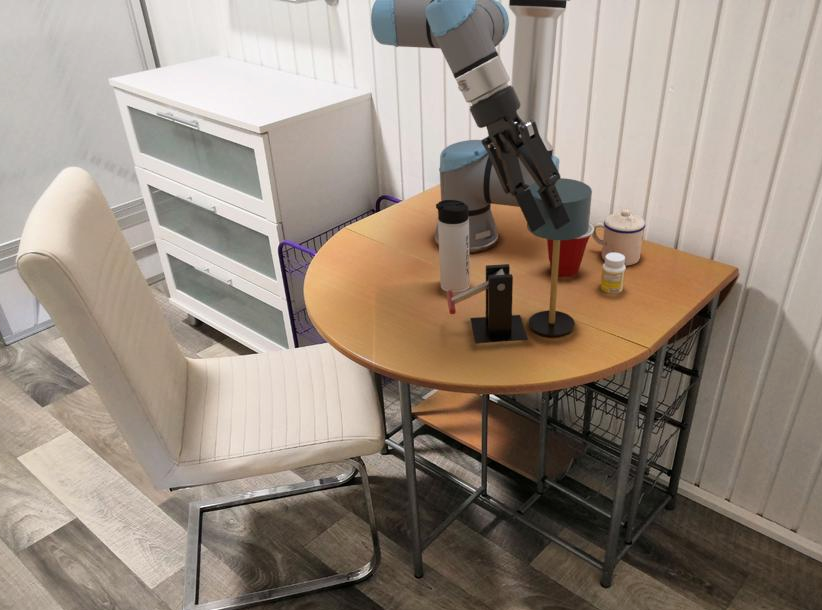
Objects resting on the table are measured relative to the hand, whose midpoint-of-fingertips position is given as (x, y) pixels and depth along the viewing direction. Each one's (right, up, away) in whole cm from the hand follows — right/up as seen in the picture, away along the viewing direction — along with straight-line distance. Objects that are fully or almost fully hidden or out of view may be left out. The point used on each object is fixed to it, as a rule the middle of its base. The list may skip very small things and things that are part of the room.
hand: (550, 226), depth 122 cm
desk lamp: (+3, -16, +23) cm, 28 cm away
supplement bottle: (+17, -8, +35) cm, 40 cm away
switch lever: (-11, -10, +17) cm, 23 cm away
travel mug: (-16, -7, +37) cm, 41 cm away
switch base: (-8, -17, +22) cm, 29 cm away
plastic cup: (+8, -3, +42) cm, 43 cm away
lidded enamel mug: (+20, +2, +48) cm, 52 cm away
